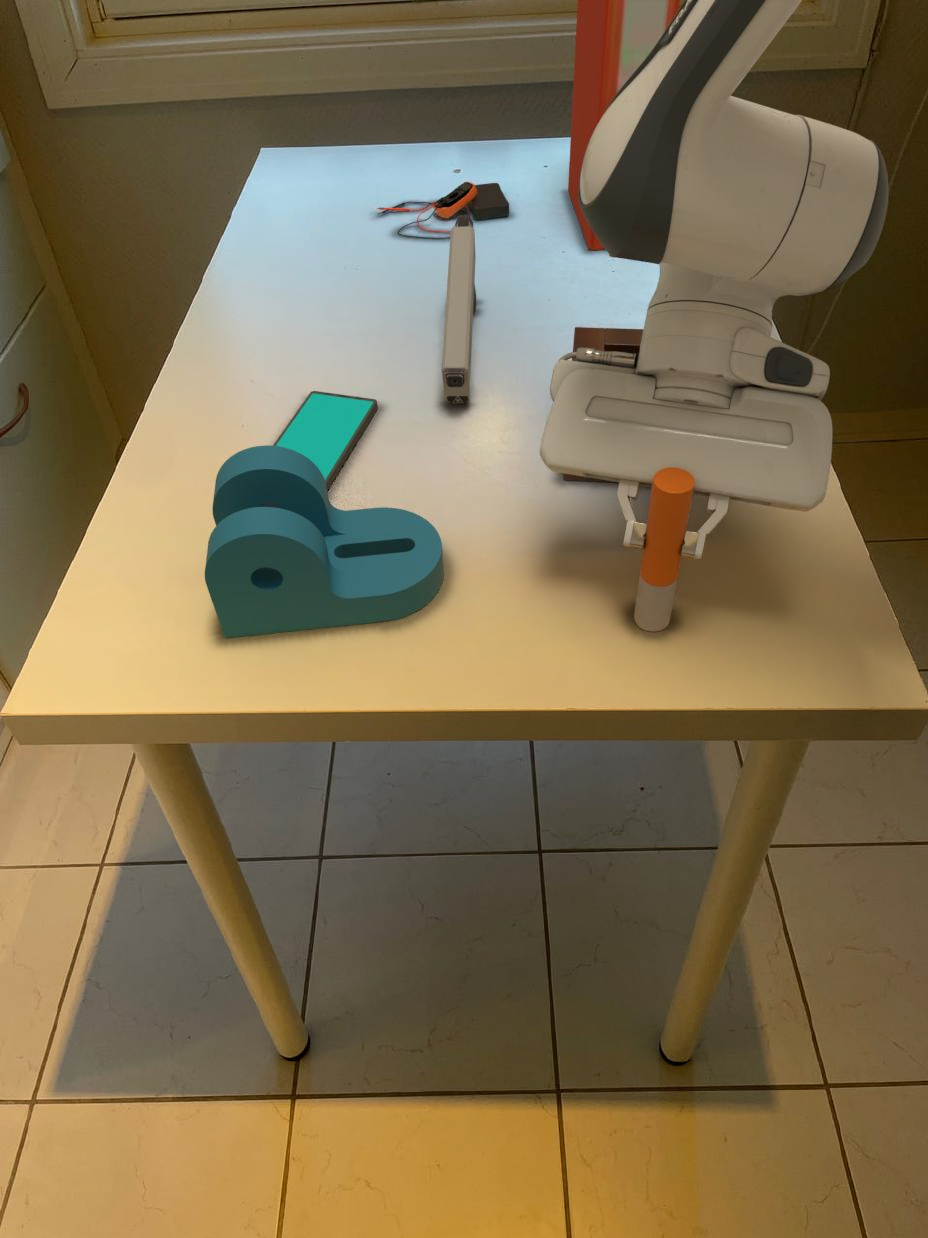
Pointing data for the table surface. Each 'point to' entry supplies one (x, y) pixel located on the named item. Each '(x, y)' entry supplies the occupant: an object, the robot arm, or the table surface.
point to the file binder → (607, 70)
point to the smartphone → (327, 429)
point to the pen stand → (605, 342)
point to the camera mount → (310, 551)
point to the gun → (459, 312)
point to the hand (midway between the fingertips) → (662, 552)
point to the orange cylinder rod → (663, 547)
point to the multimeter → (465, 203)
